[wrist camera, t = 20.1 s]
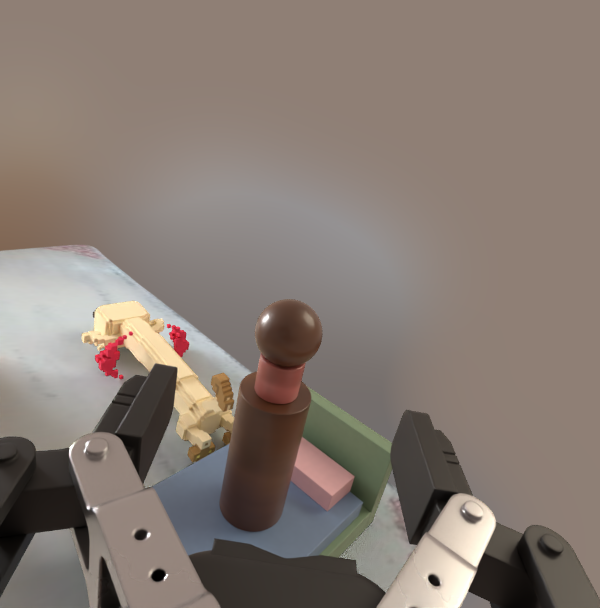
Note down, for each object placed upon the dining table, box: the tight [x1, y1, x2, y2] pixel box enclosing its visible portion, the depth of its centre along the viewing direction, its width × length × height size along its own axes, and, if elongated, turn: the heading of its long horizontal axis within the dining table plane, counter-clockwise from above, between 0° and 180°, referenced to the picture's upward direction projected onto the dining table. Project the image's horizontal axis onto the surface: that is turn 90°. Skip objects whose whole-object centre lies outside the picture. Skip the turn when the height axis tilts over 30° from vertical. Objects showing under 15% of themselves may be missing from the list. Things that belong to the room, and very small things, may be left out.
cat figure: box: [82, 301, 234, 462], centre depth 47 cm, size 10×9×25 cm
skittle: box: [219, 299, 322, 532], centre depth 29 cm, size 5×5×16 cm
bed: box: [152, 387, 392, 558], centre depth 32 cm, size 12×18×8 cm, turn 139°
